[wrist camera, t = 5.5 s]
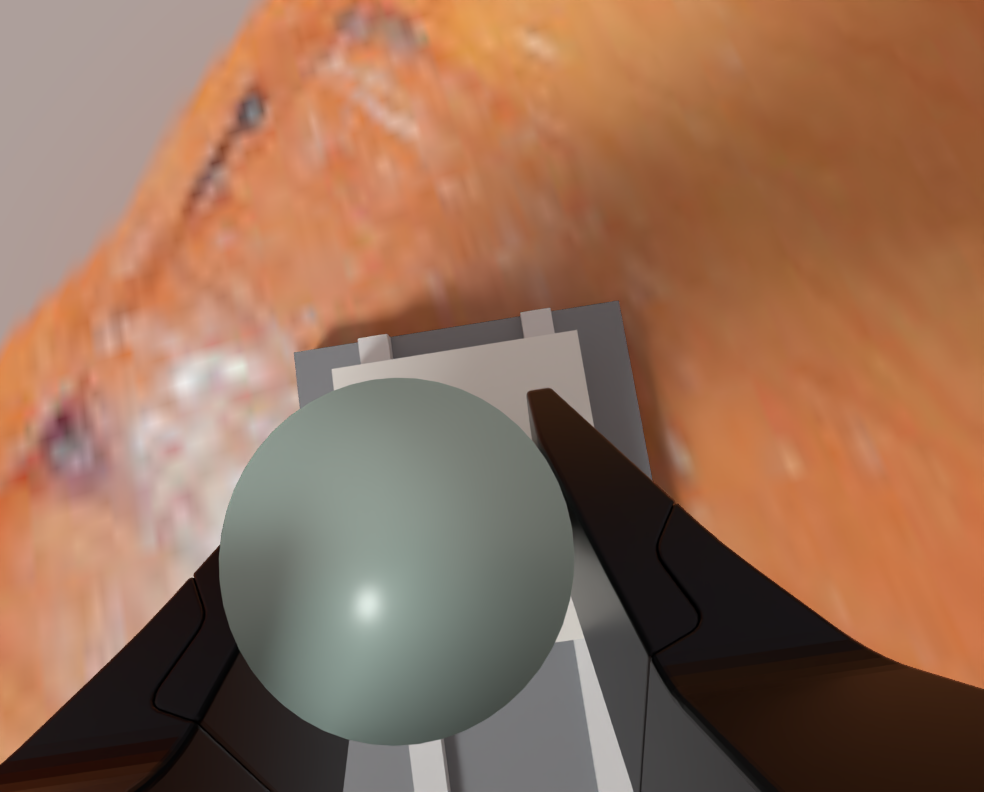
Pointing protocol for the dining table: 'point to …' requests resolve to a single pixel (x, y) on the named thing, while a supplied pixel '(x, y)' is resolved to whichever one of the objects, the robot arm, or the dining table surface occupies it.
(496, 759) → the rail track
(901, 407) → the dining table surface
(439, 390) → the carriage
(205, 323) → the dining table surface
